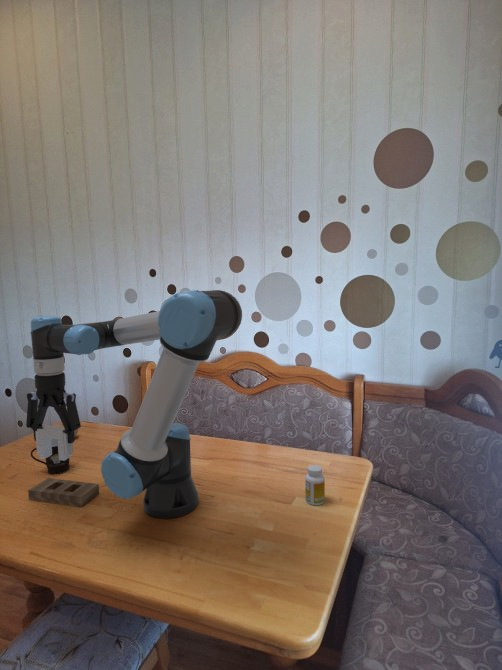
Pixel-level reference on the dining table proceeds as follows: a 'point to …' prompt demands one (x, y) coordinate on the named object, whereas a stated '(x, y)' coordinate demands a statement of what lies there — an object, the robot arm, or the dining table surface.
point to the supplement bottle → (315, 486)
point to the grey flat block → (64, 492)
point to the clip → (45, 438)
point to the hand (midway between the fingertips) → (55, 452)
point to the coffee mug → (54, 460)
